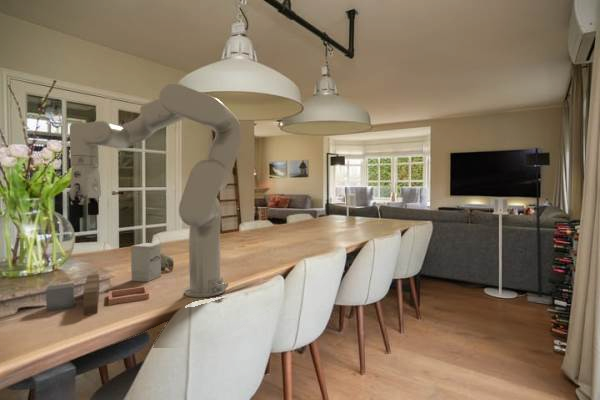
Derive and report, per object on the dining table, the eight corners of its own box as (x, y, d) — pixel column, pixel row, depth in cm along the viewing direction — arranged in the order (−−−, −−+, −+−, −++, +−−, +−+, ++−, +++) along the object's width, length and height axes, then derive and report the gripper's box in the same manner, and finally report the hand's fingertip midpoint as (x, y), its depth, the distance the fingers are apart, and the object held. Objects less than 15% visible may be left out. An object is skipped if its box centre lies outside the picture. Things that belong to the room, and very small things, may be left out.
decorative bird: (165, 273, 132) (165, 254, 131) (144, 267, 141) (143, 249, 141) (177, 270, 136) (177, 252, 136) (156, 264, 145) (155, 247, 145)
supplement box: (149, 281, 120) (148, 246, 119) (130, 280, 121) (130, 245, 120) (161, 276, 127) (161, 242, 126) (144, 275, 128) (143, 242, 128)
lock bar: (74, 303, 98) (73, 283, 98) (73, 307, 95) (72, 286, 94) (49, 307, 95) (48, 286, 95) (46, 311, 92) (46, 290, 91)
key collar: (146, 290, 110) (146, 286, 110) (149, 298, 102) (149, 293, 102) (108, 295, 104) (108, 291, 104) (108, 304, 97) (108, 299, 97)
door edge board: (97, 312, 91) (96, 290, 90) (84, 315, 89) (83, 292, 89) (99, 292, 108) (98, 273, 108) (88, 293, 107) (87, 274, 106)
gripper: (83, 160, 99) (85, 219, 100) (109, 164, 116) (110, 213, 117) (56, 160, 98) (57, 219, 99) (85, 163, 115) (86, 214, 116)
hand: (86, 216), depth 108 cm, fingers open, 9 cm apart
